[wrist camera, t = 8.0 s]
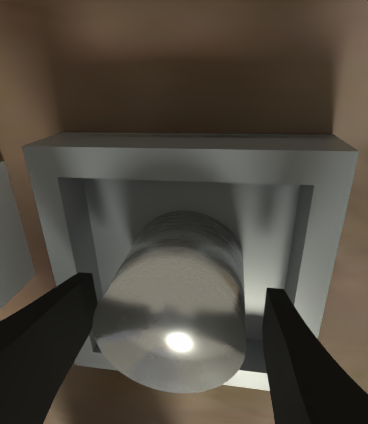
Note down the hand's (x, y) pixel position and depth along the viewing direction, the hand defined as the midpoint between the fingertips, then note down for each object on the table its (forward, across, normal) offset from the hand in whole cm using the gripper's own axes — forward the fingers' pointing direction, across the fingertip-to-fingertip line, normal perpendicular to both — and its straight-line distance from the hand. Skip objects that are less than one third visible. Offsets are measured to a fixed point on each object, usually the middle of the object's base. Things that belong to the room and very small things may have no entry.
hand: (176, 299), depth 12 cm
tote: (+4, 0, 0) cm, 4 cm away
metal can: (+3, 0, 0) cm, 3 cm away
